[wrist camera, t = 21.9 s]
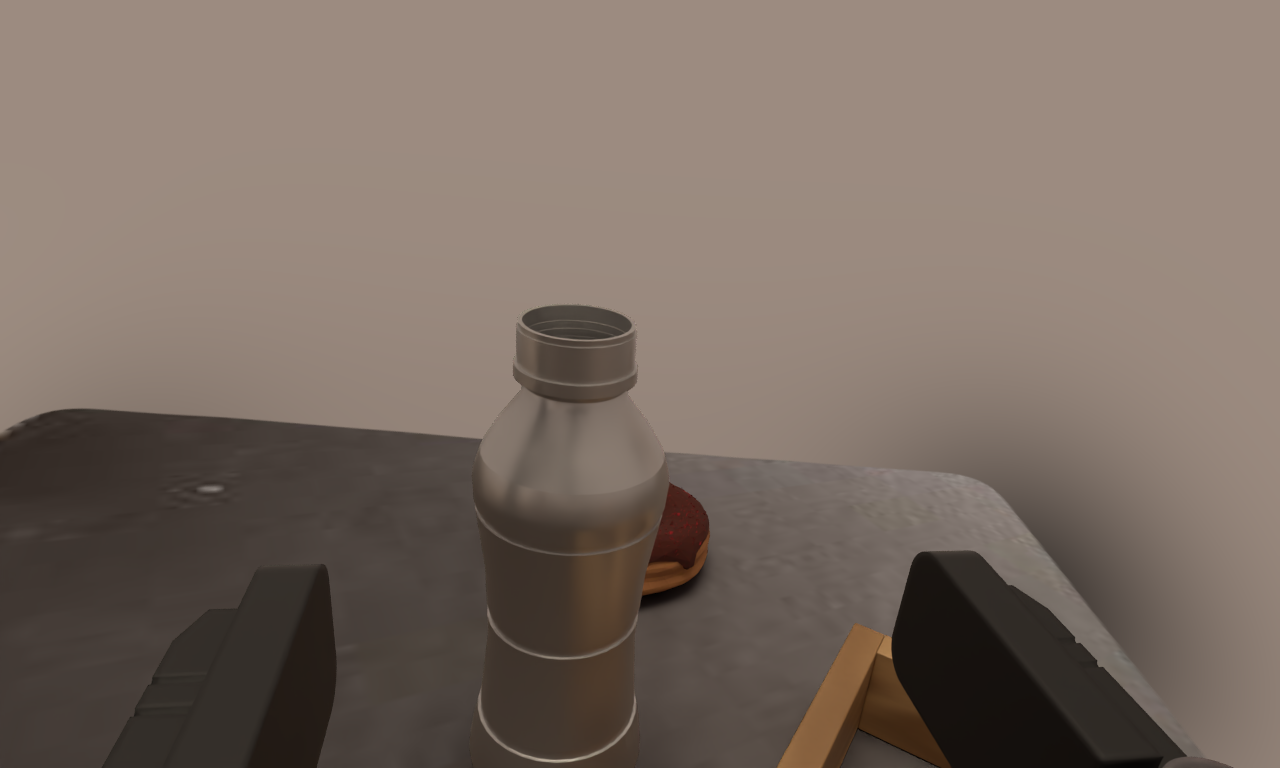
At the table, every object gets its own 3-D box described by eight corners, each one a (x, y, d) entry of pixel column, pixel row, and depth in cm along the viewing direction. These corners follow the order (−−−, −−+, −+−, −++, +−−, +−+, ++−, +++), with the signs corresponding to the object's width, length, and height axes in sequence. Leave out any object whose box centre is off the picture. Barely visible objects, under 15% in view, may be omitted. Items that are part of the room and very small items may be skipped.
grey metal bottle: (498, 710, 35) (501, 281, 27) (646, 736, 34) (693, 304, 26) (445, 841, 29) (429, 342, 21) (622, 876, 28) (674, 373, 20)
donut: (587, 495, 52) (590, 443, 51) (726, 535, 49) (734, 481, 48) (509, 577, 44) (511, 517, 42) (673, 632, 40) (680, 570, 39)
